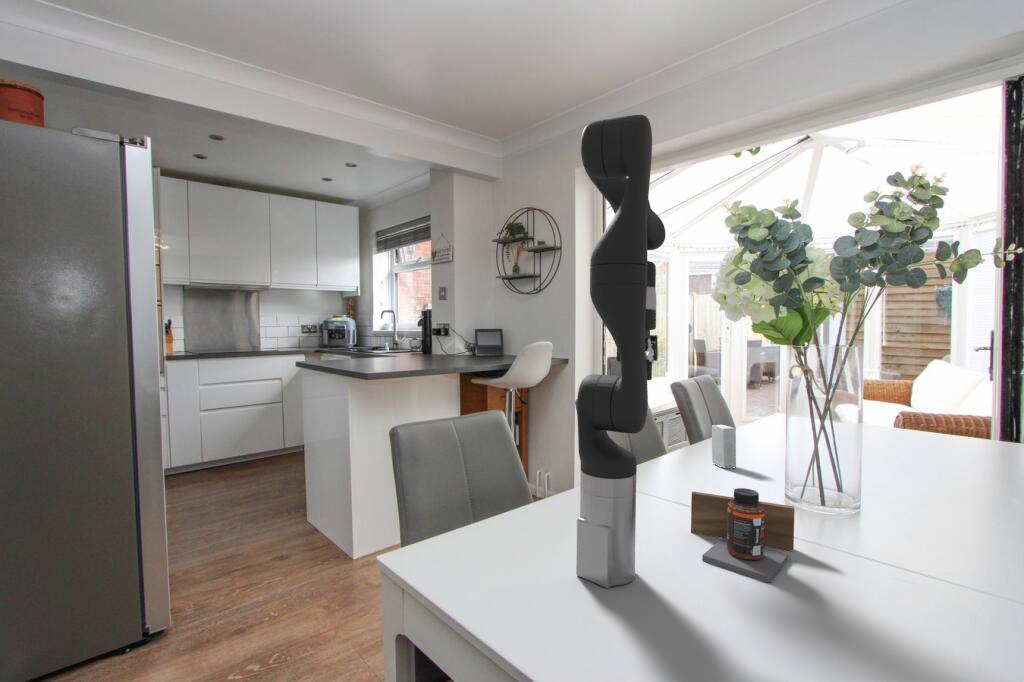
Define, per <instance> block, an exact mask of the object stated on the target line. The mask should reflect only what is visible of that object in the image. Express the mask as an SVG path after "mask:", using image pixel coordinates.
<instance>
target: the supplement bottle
mask: <svg viewBox="0 0 1024 682" xmlns="http://www.w3.org/2000/svg"><path fill="white" fill-rule="evenodd" d="M759 495H760V494H759V492H758V491H757V490H754V489H750V488H747V487H746V488H743V487H738V488H735V489H733V496H732V497H734V499H733V500H731V501H730V502H729V503H728V511H727V550H728V552H729V553H730V554H732V555H733V556H735V557H737V558H741V559H744V560H759V559H761V558H762V557H763V552H764V547H765V546H764V518H765V517H764V508H763V506H762V505H761V504H760V503H759V501H760V500H759V499H760V496H759Z"/></svg>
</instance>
